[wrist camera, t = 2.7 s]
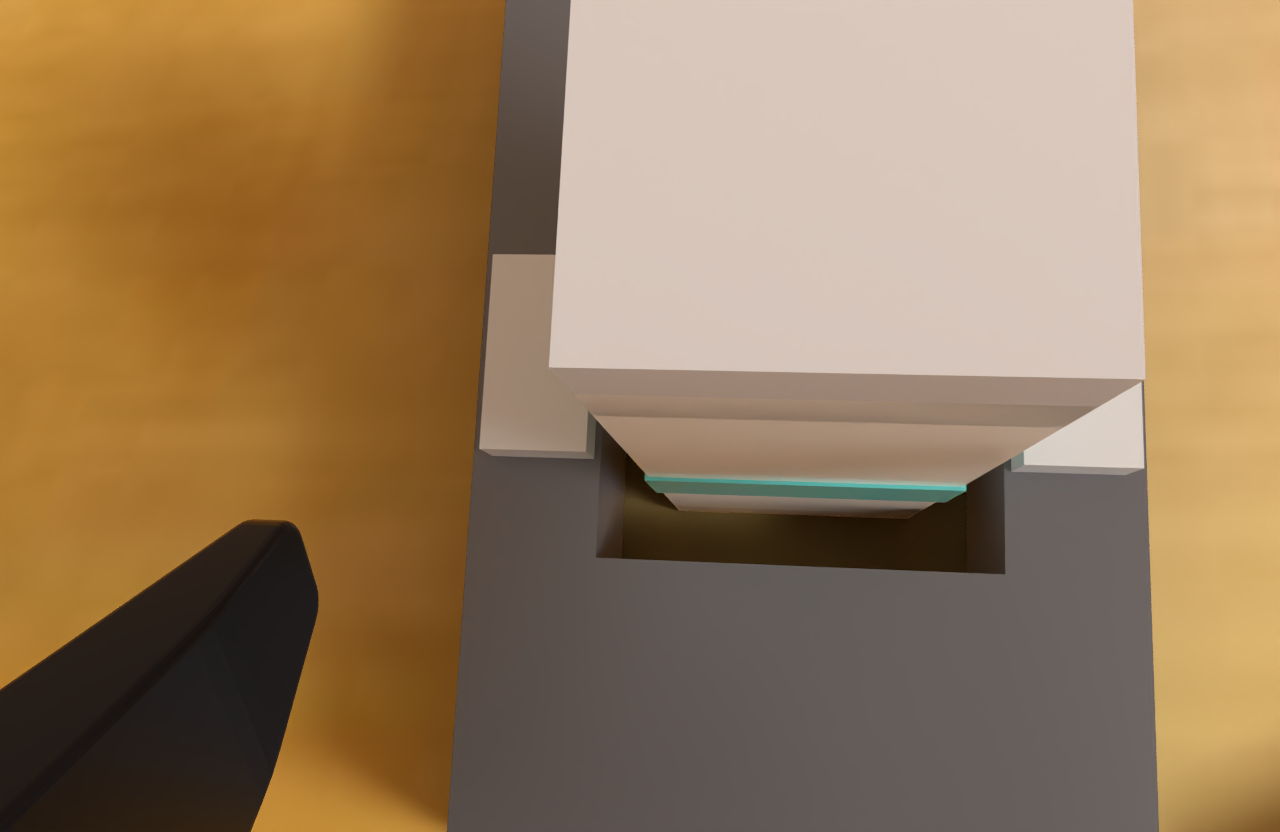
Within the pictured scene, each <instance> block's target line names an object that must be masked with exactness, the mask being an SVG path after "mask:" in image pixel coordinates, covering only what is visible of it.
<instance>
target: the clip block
mask: <svg viewBox="0 0 1280 832" xmlns="http://www.w3.org/2000/svg"><path fill="white" fill-rule="evenodd" d="M570 7H571V0H506V7H505V21H504V35H503V50H502V64H501V78H500V92H499V106H498V120H497V134H496V148H495V162H494V176H493V190H492V204H491V219H490V233H489V247H488V261H487V275H486V289H485V303H484V317H483V331H482V345H481V359H480V373H479V387H478V402H477V416H476V430H475V444H474V458H473V472H472V486H471V500H470V514H469V528H468V542H467V556H466V571H465V585H464V599H463V613H462V627H461V641H460V655H459V669H458V683H457V697H456V711H455V725H454V739H453V754H452V768H451V782H450V796H449V810H448V824H447V832H1159V821H1158V791H1157V761H1156V732H1155V702H1154V672H1153V643H1152V613H1151V583H1150V554H1149V524H1148V494H1147V464H1146V435H1145V405H1144V381H1142V382H1140V383H1139V384H1137V385H1135V386H1134V387H1132V388H1130V389H1128V390H1127V391H1125V392H1123V393H1122V394H1120V395H1118V396H1116V397H1115V398H1113V399H1111V400H1110V401H1108V402H1106V403H1105V404H1103V405H1101V406H1099V407H1098V408H1096V409H1094V410H1093V411H1091V412H1089V413H1087V414H1086V415H1084V416H1082V417H1081V418H1079V419H1077V420H1076V421H1074V422H1072V423H1070V424H1069V425H1067V426H1065V427H1064V428H1062V429H1060V430H1058V431H1057V432H1055V433H1053V434H1052V435H1050V436H1048V437H1047V438H1045V439H1043V440H1041V441H1040V442H1038V443H1036V444H1035V445H1033V446H1031V447H1029V448H1028V449H1026V450H1024V451H1023V452H1021V453H1019V454H1018V455H1016V456H1014V457H1012V458H1011V459H1009V460H1007V461H1006V462H1004V463H1002V464H1000V465H999V466H997V467H995V468H994V469H992V470H990V471H989V472H987V473H985V474H983V475H982V476H980V477H978V478H977V479H975V480H973V481H971V482H970V483H968V484H967V573H957V572H933V571H908V570H884V569H860V568H835V567H811V566H787V565H763V564H738V563H714V562H690V561H665V560H641V559H621V558H622V537H623V516H624V495H625V473H626V452H625V451H624V449H623V448H622V447H621V446H620V445H619V444H618V443H617V442H616V441H615V440H614V438H613V437H612V436H611V435H610V434H609V433H608V432H607V431H606V430H605V429H604V427H603V426H602V425H601V424H600V423H599V422H598V421H597V420H596V419H595V418H594V416H593V415H592V414H591V413H590V412H589V411H588V410H587V409H586V408H585V407H584V405H583V404H582V403H581V402H580V401H579V400H578V399H577V398H576V397H575V396H574V394H573V393H572V392H571V391H570V390H569V389H568V388H567V387H566V386H565V385H564V383H563V382H562V381H561V380H560V379H559V378H558V377H557V376H556V375H555V374H554V372H553V371H552V370H551V369H550V368H549V357H550V340H551V323H552V307H553V290H554V273H555V257H556V240H557V223H558V207H559V190H560V173H561V157H562V140H563V123H564V107H565V90H566V73H567V57H568V40H569V23H570Z"/></svg>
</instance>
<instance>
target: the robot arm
mask: <svg viewBox="0 0 1280 832" xmlns="http://www.w3.org/2000/svg"><path fill="white" fill-rule="evenodd" d="M317 612H318V590H317V586H316V582H315V579H314V576H313V573H312V569H311V566H310V563H309V560H308V556H307V553H306V550H305V547H304V543H303V540H302V537H301V534H300V532H299V530H298V528H297V527H296V526H295V525H294V524H293V523H291V522H288V521H281V520H255V519H254V520H247V521H244V522H242V523H241V524H239V525H237V526H236V527H234V528H233V529H231V530H230V531H229V532H227V533H226V534H224V535H223V536H221V537H220V538H218V539H217V540H216V541H214V542H213V543H211V544H210V545H208V546H207V547H205V548H204V549H203V550H201V551H200V552H198V553H197V554H195V555H194V556H192V557H191V558H190V559H188V560H187V561H185V562H184V563H182V564H181V565H179V566H178V567H177V568H175V569H174V570H172V571H171V572H169V573H168V574H166V575H165V576H164V577H162V578H161V579H159V580H158V581H156V582H155V583H153V584H152V585H151V586H149V587H148V588H146V589H145V590H143V591H142V592H140V593H139V594H138V595H136V596H135V597H133V598H132V599H130V600H129V601H127V602H126V603H125V604H123V605H122V606H120V607H119V608H117V609H116V610H114V611H113V612H112V613H110V614H109V615H107V616H106V617H104V618H103V619H101V620H100V621H99V622H97V623H96V624H94V625H93V626H91V627H90V628H88V629H87V630H86V631H84V632H83V633H81V634H80V635H78V636H77V637H75V638H74V639H73V640H71V641H70V642H68V643H67V644H65V645H64V646H62V647H61V648H60V649H58V650H57V651H55V652H54V653H52V654H51V655H49V656H48V657H47V658H45V659H44V660H42V661H41V662H39V663H38V664H37V665H35V666H34V667H32V668H31V669H29V670H28V671H26V672H25V673H24V674H22V675H21V676H19V677H18V678H16V679H15V680H13V681H12V682H11V683H9V684H8V685H6V686H5V687H3V688H2V689H0V832H251V829H252V827H253V824H254V822H255V819H256V817H257V814H258V812H259V809H260V807H261V804H262V802H263V799H264V796H265V794H266V791H267V788H268V785H269V783H270V780H271V777H272V775H273V771H274V768H275V765H276V762H277V758H278V755H279V752H280V749H281V745H282V741H283V738H284V734H285V730H286V727H287V723H288V719H289V716H290V712H291V709H292V705H293V701H294V698H295V694H296V690H297V687H298V683H299V679H300V676H301V672H302V669H303V665H304V661H305V658H306V654H307V650H308V647H309V643H310V639H311V636H312V632H313V629H314V625H315V621H316V617H317Z"/></svg>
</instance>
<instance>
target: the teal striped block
mask: <svg viewBox="0 0 1280 832" xmlns="http://www.w3.org/2000/svg"><path fill="white" fill-rule="evenodd" d="M549 368H550V369H551V370H552V371H553V372H554V374H555V375H556V376H557V377H558V378H559V379H560V380H561V381H562V382H563V383H564V385H565V386H566V387H567V388H568V389H569V390H570V391H571V392H572V393H573V394H574V396H575V397H576V398H577V399H578V400H579V401H580V402H581V403H582V404H583V405H584V407H585V408H586V409H587V410H588V411H589V412H590V413H591V414H592V415H593V416H594V418H595V419H596V420H597V421H598V422H599V423H600V424H601V425H602V426H603V427H604V429H605V430H606V431H607V432H608V433H609V434H610V435H611V436H612V437H613V438H614V440H615V441H616V442H617V443H618V444H619V445H620V446H621V447H622V448H623V449H624V451H625V452H626V453H627V454H628V455H629V456H630V457H631V458H632V459H633V460H634V461H635V463H636V464H637V465H638V466H639V467H640V468H641V469H642V470H643V471H644V472H645V482H646V483H647V484H648V485H649V486H650V487H651V488H652V489H653V490H654V491H655V492H656V493H664V494H665V496H666V497H667V498H668V499H669V500H670V501H671V502H672V503H673V504H674V505H675V507H676V508H677V509H678V510H679V511H699V512H727V513H755V514H783V515H811V516H839V517H868V518H896V519H908V518H910V517H912V516H913V515H915V514H917V513H919V512H920V511H922V510H924V509H925V508H927V507H929V506H930V505H932V504H934V503H936V502H945V503H946V502H947V501H949V500H951V499H953V498H955V497H956V496H958V495H960V494H962V493H964V492H965V491H966V484H968V483H970V482H971V481H973V480H975V479H977V478H978V477H980V476H982V475H983V474H985V473H987V472H989V471H990V470H992V469H994V468H995V467H997V466H999V465H1000V464H1002V463H1004V462H1006V461H1007V460H1009V459H1011V458H1012V457H1014V456H1016V455H1018V454H1019V453H1021V452H1023V451H1024V450H1026V449H1028V448H1029V447H1031V446H1033V445H1035V444H1036V443H1038V442H1040V441H1041V440H1043V439H1045V438H1047V437H1048V436H1050V435H1052V434H1053V433H1055V432H1057V431H1058V430H1060V429H1062V428H1064V427H1065V426H1067V425H1069V424H1070V423H1072V422H1074V421H1076V420H1077V419H1079V418H1081V417H1082V416H1084V415H1086V414H1087V413H1089V412H1091V411H1093V410H1094V409H1096V408H1098V407H1099V406H1101V405H1103V404H1105V403H1106V402H1108V401H1110V400H1111V399H1113V398H1115V397H1116V396H1118V395H1120V394H1122V393H1123V392H1125V391H1127V390H1128V389H1130V388H1132V387H1134V386H1135V385H1137V384H1139V383H1140V382H1142V381H1144V380H1145V379H1146V375H1145V345H1144V316H1143V286H1142V257H1141V227H1140V198H1139V168H1138V138H1137V109H1136V79H1135V50H1134V20H1133V0H571V7H570V23H569V40H568V57H567V73H566V90H565V107H564V123H563V140H562V157H561V173H560V190H559V207H558V223H557V240H556V257H555V273H554V290H553V307H552V323H551V340H550V357H549Z"/></svg>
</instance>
